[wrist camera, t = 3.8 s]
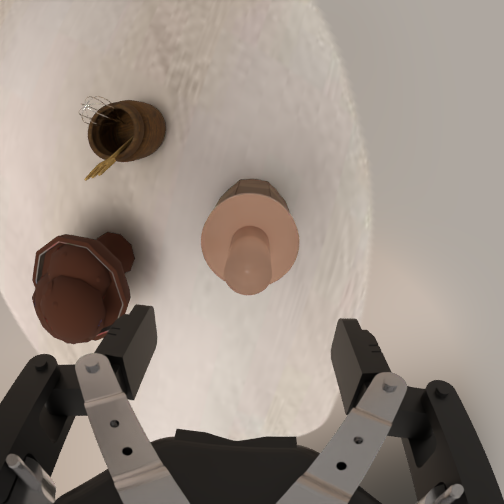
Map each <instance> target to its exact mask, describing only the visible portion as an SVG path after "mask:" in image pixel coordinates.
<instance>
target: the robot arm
mask: <svg viewBox="0 0 504 504" xmlns="http://www.w3.org/2000/svg"><path fill="white" fill-rule="evenodd" d="M156 345H157V330H156V322H155V314H154V308H153V306H146V305H137V304H136V305H135V306H134V308H133V309H132V311H131V312H130V314H129V315H128V314H124V315H122V316H121V317H119V318H118V319H116V320H115V322H114V323H113V325H112V326H111V328H110V329H109V331H108V332H107V334H106V335H105V337H104V338H103V340H102V342H101V343H100V345H99V346H98V348H97V349H96V351H95V352H94V353H91V354H87V355H84V356H82V357H81V358H79V359H78V361H77V362H76V364H75V365H58V364H57V361H56V359H55V358H54V357H53V356H51V355H49V354H40V355H37V356H35V357H33V358H32V359H30V360H29V362H28V363H27V364H26V366H25V367H24V369H23V370H22V372H21V373H20V375H19V376H18V377H17V379H16V380H15V382H14V383H13V385H12V386H11V388H10V390H9V391H8V393H7V394H6V396H5V397H4V399H3V400H2V402H1V403H0V504H382V503H380V502H379V501H378V500H376V499H375V498H374V497H373V496H371V495H370V494H369V493H367V492H366V491H365V490H364V489H363V488H361V487H360V486H359V484H360V483H361V481H362V479H363V478H364V476H365V474H366V472H367V471H368V469H369V467H370V466H371V464H372V462H373V460H374V459H375V457H376V455H377V453H378V451H379V449H380V448H381V446H382V443H383V442H384V440H385V438H386V436H394V437H401V438H402V442H403V446H404V449H405V453H406V456H407V460H408V464H409V468H410V472H411V475H412V479H413V484H414V487H415V492H416V496H417V501H418V502H417V503H416V504H504V500H503V497H502V494H501V492H500V489H499V486H498V483H497V481H496V478H495V475H494V473H493V470H492V468H491V465H490V463H489V461H488V458H487V456H486V454H485V451H484V449H483V447H482V444H481V442H480V440H479V438H478V436H477V433H476V431H475V429H474V427H473V425H472V423H471V420H470V418H469V416H468V414H467V412H466V410H465V408H464V406H463V404H462V402H461V400H460V398H459V396H458V394H457V392H456V391H455V389H454V388H453V386H451V385H450V384H449V383H447V382H445V381H441V380H434V381H432V382H430V383H429V384H428V385H427V387H426V389H420V388H413V387H409V386H407V384H406V382H405V380H404V379H403V378H402V377H400V376H399V375H397V374H394V373H392V372H391V370H390V368H389V366H388V364H387V362H386V360H385V357H384V356H383V353H382V352H381V349H380V347H379V346H378V343H377V341H376V339H375V337H374V336H373V335H372V334H371V333H369V331H368V330H362V329H361V327H360V325H359V323H358V321H357V319H341V318H340V319H339V320H338V323H337V327H336V331H335V335H334V339H333V343H332V348H331V360H332V364H333V367H334V371H335V375H336V378H337V382H338V386H339V390H340V394H341V397H342V401H343V405H344V409H345V413H346V415H348V416H347V417H346V419H345V420H344V422H343V423H342V425H341V426H340V427H339V429H338V430H337V432H336V433H335V435H334V436H333V437H332V439H331V440H330V441H329V443H328V444H327V445H326V447H325V448H324V449H323V451H322V452H321V453H318V452H316V451H314V450H312V449H310V448H307V447H304V446H300V445H297V442H296V437H261V438H255V439H249V440H242V441H233V440H229V439H226V438H222V437H219V436H215V435H212V434H209V433H206V432H198V431H190V430H182V429H177V430H176V434H175V437H167V438H162V439H158V440H155V441H152V442H150V441H149V439H148V438H147V436H146V434H145V432H144V430H143V428H142V427H141V425H140V423H139V421H138V419H137V417H136V415H135V413H134V411H133V409H132V407H131V405H130V403H129V401H128V399H129V400H134V399H135V397H136V394H137V392H138V389H139V387H140V384H141V382H142V379H143V377H144V375H145V372H146V370H147V367H148V365H149V363H150V360H151V358H152V356H153V353H154V351H155V348H156ZM75 416H88V418H89V421H90V424H91V426H92V429H93V432H94V435H95V437H96V440H97V443H98V445H99V448H100V450H101V453H102V455H103V458H104V460H105V462H106V465H107V467H108V469H107V470H105V471H104V472H102V473H100V474H99V475H97V476H95V477H94V478H92V479H90V480H89V481H87V482H85V483H83V484H82V485H80V486H78V487H76V488H74V489H73V490H71V491H69V492H67V493H65V494H64V495H62V496H60V497H59V498H58V499H57V500H56V501H55V493H56V487H55V483H54V481H53V480H52V478H51V475H52V472H53V469H54V467H55V464H56V462H57V459H58V457H59V454H60V452H61V449H62V447H63V444H64V442H65V439H66V437H67V435H68V432H69V430H70V428H71V425H72V423H73V420H74V418H75Z"/></svg>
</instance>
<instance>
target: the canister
mask: <svg viewBox="0 0 504 504" xmlns="http://www.w3.org/2000/svg"><path fill="white" fill-rule="evenodd" d="M242 193H258V194H263V195H266V196H269V197H271V198H273V199H275V200H277V201H278V202H279V203H281V204H282V205H283V206H284V207H285V208H286V209H287V210H288V211H289V209H288V207H287V204H286V202H285V200H284V199H283V198H282V197H281V196H280V194H279V193H278V191H277V190H276V189H275V188H274V187H273V186H272V185H271V184H270V183H269V182H267V181H261V180H257V179H248V180H239V181H238V182H237V183H236V184H234V185H233V186H232V187H231V188H230V189H229V190H228V191H227V192H226V193H225V194H224V195H223V196H221V198H220V199H219V201H218V203H217V205H218V204H220V203H221V202H222V201H224V200H225V199H227V198H229V197H232V196H234V195H238V194H242ZM217 205H216V206H217ZM289 213H290V212H289Z"/></svg>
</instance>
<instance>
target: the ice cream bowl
mask: <svg viewBox="0 0 504 504" xmlns="http://www.w3.org/2000/svg"><path fill="white" fill-rule="evenodd" d="M134 259H135V257H134V254H133V250H132V246H131V244H130V243H129V242H128V241H127V240H126V239H125V238H124V237H123V236H122V235H121V234H115V233H110V232H107V233H105V234H104V235H102V236H100V237H99V238H97V240H94V239H89V238H84V237H79V236H74V235H68V234H65V235H61V236H57V237H56V238H54V239H53V240H52V241H50V242H49V243H48V244H46V245H45V246H44V247H42V248H41V249H40V250H38V251H37V252H36V257H35V264H34V271H33V279H32V280H33V283H34V286H35V288H36V289H35V291H34V294H33V296H32V300H33V304H34V308H35V311H36V314H37V316H38V318H39V320H40V322H41V324H42V326H43V327H44V328H45V329H46V330H47V331H48V332H49V333H50V334H51V335H52V336H53V337H54V338H57V339H59V340H62V341H64V342H66V343H71V344H76V343H82V342H89V341H91V340H95V341H96V340H99V339H101V338H104V337H105V335H106V334H107V332H108V331H109V329H110V328H111V326H112V325H113V323H114V322H115V320H116V319H118V318H119V317H121V316H122V315H124V314H125V312H126V310H127V307H128V304H129V300H130V289H129V286H128V283H127V280H126V277H125V273H126V272H128V271H130V270H131V267H132V265H133V262H134Z"/></svg>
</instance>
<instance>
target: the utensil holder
mask: <svg viewBox="0 0 504 504" xmlns="http://www.w3.org/2000/svg"><path fill="white" fill-rule="evenodd" d="M89 97H91V96H89ZM96 97H100V96H96ZM87 98H88V97H87ZM87 98H86V99H87ZM93 98H95V97H92V99H93ZM101 98H103V97H101ZM95 99H96V98H95ZM104 99H105V98H104ZM97 100H98V99H97ZM106 100H107V99H106ZM85 101H86V100H85ZM99 101H100V100H99ZM108 101H109V100H108ZM101 102H102V101H101ZM109 102H110V101H109ZM102 103H103V102H102ZM102 103H95V104H102ZM110 103H111V102H110ZM87 104H88V103H87ZM87 104H86V106H88V107H90V106H89V105H87ZM103 104H104V103H103ZM81 105H82V103H81ZM84 105H85V104H83V105H82V106H84ZM90 105H93V104H90ZM104 105H105V106H103V107H102V108H100V109H99V110H98V111H97V112H95V111H93V110H91V109H89V108H88V109H89V110H91V111H93V112H95V114H94V116H93V117H92V118H91V120H90V124H89V128H88V140H89V144H90V147H91V148H92V150H93V152H94V153H95V154H96V155H97V156H99V157H100V158H102V159H104V160H105V161H103V162H101V163H99V164H98V165H97V166H96V167H95V168H94V169H93V170H92V171H91V172H90V173H89V175H88V176H87V177H86V178H85V181H86V180H88V179H89V178H90V177H91V178H94V177H95V176H96V175H97V174H98V175H99V176H100V175H102V174H103V173H104V172H105V171H106V170H107V169H108V168H109V167H110V166H111V165H113V164H114V163H115V162H116V161H118V162H129V161H134V160H138V159H141V158H144V157H147V156H149V155H150V154H152V153H153V152H155V151H156V150H157V149H158V148H159V146H160V145H161V143H162V141H163V139H164V136H165V121H164V118H163V116H162V114H161V113H160V112H159V110H157V109H156V108H155V107H154V106H152V105H150V104H147V103H144V102H139V101H132V100H125V101H120V102H115V103H111V104H108V105H106V104H104ZM86 106H84V107H83V108H85V107H86ZM86 108H87V107H86ZM86 108H85V111H86ZM91 108H92V107H91ZM81 109H82V108H81ZM81 109H80V110H81ZM93 109H95V108H93ZM80 110H79V111H80ZM95 110H97V109H95ZM83 111H84V109H83ZM79 114H80V113H79ZM82 114H83V112H82ZM86 114H87V112H86ZM80 115H81V114H80ZM82 116H83V115H82ZM87 116H88V115H87ZM84 117H86V116H84ZM87 118H89V117H87ZM89 119H90V118H89ZM82 120H83V118H82ZM83 122H84V121H83ZM85 123H86V122H85ZM87 124H88V123H87Z"/></svg>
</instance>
